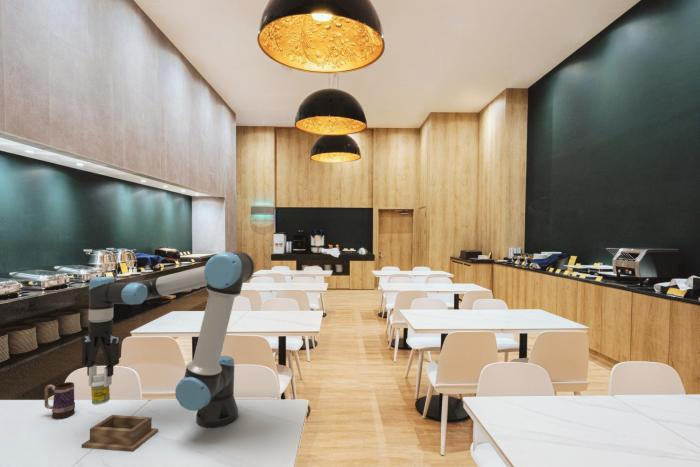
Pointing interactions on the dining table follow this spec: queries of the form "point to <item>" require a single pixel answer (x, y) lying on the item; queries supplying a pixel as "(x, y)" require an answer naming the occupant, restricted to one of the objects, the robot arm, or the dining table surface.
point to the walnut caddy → (120, 433)
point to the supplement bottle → (99, 390)
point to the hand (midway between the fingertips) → (100, 384)
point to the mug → (61, 400)
